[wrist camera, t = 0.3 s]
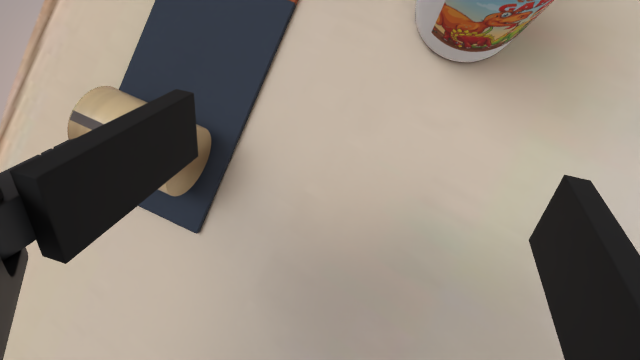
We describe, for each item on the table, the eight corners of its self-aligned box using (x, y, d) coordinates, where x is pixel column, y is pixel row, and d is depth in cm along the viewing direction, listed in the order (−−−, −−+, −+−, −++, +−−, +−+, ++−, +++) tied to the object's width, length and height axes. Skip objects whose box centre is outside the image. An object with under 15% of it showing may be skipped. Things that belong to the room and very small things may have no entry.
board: (198, 232, 31) (174, 240, 27) (86, 179, 32) (47, 178, 28) (346, -113, 29) (344, -159, 26) (223, -156, 31) (202, -206, 27)
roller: (193, 195, 30) (155, 198, 25) (109, 155, 31) (55, 151, 26) (219, 132, 30) (187, 122, 25) (134, 94, 31) (84, 76, 25)
